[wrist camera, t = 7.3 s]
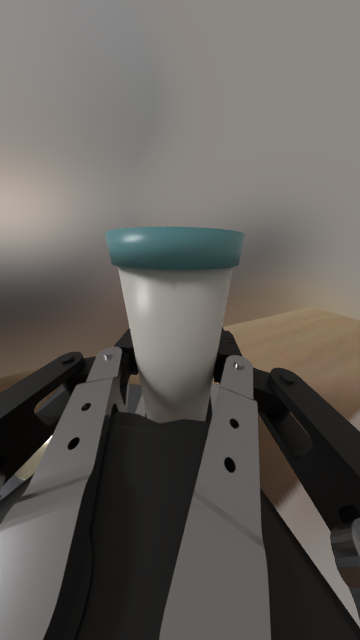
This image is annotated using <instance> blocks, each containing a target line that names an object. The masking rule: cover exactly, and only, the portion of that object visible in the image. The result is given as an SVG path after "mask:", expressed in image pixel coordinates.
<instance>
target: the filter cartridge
mask: <svg viewBox="0 0 360 640" xmlns="http://www.w3.org/2000/svg"><path fill="white" fill-rule="evenodd" d="M105 234H106V239H107V244H108V248H109V253H110V258H111V263H112V264H113V265H115V266H118V270H119V275H120V280H121V285H122V290H123V295H124V301H125V306H126V311H127V316H128V321H129V326H130V332H131V337H132V342H133V347H134V352H135V358H136V363H137V368H138V373H139V378H140V383H141V389H142V394H143V399H144V404H145V409H146V414H147V418H148V419H150V420H153V421H155V422H157V423H165V422H170V421H176V420H181V419H188V420H197V421H205V420H206V414H207V408H208V403H209V397H210V392H211V386H212V381H213V375H214V370H215V364H216V358H217V353H218V347H219V342H220V336H221V331H222V325H223V320H224V313H225V308H226V303H227V297H228V292H229V286H230V281H231V275H232V269H233V267H235V266H238V265H239V261H240V256H241V250H242V245H243V240H244V234H243V233H241V232H237V231H231V230H223V229H212V228H195V227H138V228H124V229H115V230H110V231H107V232H105Z"/></svg>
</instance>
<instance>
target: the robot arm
mask: <svg viewBox="0 0 360 640" xmlns="http://www.w3.org/2000/svg"><path fill="white" fill-rule="evenodd" d="M137 373H138V368H137V363H136V358H135V352H134V347H133V342H132V337H131V332H130V328H129V329H128V330H127V331H126V333H125V334H124V335H123V336H122V337H121V338H120V340H119V341H118V342H117V343H116V344H115V346H114V347H109V348H106V349H104V350H102V351H100V352H99V353H98V354H97V356H96V357H89V358H83V356H82V354H81V353H80V352H70V353H67V354H65V355H62V356H60V357H58V358H57V359H55V360H54V361H52V362H51V363H49V364H47V365H46V366H44V367H42V368H41V369H39V370H37V371H36V372H34V373H33V374H31V375H29V376H28V377H26V378H24V379H23V380H21V381H20V382H18V383H16V384H15V385H13V386H11V387H10V388H8V389H7V390H5V391H3V392H2V393H0V490H1V488H2V486H3V485H4V484H5V483H6V482H7V481H8V480H9V479H10V478H11V477H12V476H13V475H14V474H15V473H16V472H17V471H18V470H19V469H20V468H21V467H22V466H23V465H24V464H25V463H26V462H27V461H28V460H29V459H30V458H31V457H32V456H33V455H34V454H35V452H36V451H37V450H38V449H39V448H40V447H41V446H42V445H43V444H44V443H45V442H46V441H47V440H48V439H49V438H50V437H51V436H52V437H51V439H50V442H49V444H48V446H47V448H46V450H45V452H44V454H43V456H42V458H41V461H40V463H39V465H38V467H37V469H36V471H35V473H34V474H33V475H31V476H30V477H29V478H28V479H26V480H25V481H24V482H23V483H21V484H20V485H19V486H18V487H16V488H15V489H14V490H13V491H11V492H10V493H9V494H8V495H6V496H5V497H4V498H3V499H1V497H2V494H1V493H0V640H360V628H359V626H358V625H357V623H356V622H355V621H354V619H353V618H352V616H351V615H350V613H349V612H348V611H347V609H346V608H345V606H344V605H343V604H342V602H341V601H340V600H339V598H338V597H337V595H336V594H335V592H334V591H333V590H332V588H331V587H330V585H329V584H328V582H327V581H326V580H325V578H324V577H323V575H322V574H321V573H320V571H319V570H318V568H317V567H316V566H315V564H314V563H313V561H312V560H311V559H310V557H309V556H308V554H307V553H306V552H305V550H304V549H303V547H302V546H301V544H300V543H299V541H298V540H297V539H296V537H295V536H294V534H293V533H292V532H291V530H290V529H289V527H288V526H287V525H286V523H285V522H284V520H283V519H282V517H281V516H280V515H279V513H278V512H277V510H276V509H275V508H274V506H273V505H272V503H271V502H270V501H269V499H268V498H267V496H266V495H265V493H264V492H263V491H262V489H261V488H260V472H259V440H258V413H259V415H260V417H261V418H262V420H263V421H264V423H265V425H266V426H267V428H268V430H269V431H270V433H271V435H272V436H273V438H274V439H275V441H276V443H277V444H278V446H279V448H280V449H281V451H282V453H283V454H284V456H285V457H286V459H287V461H288V462H289V464H290V466H291V467H292V469H293V471H294V472H295V474H296V475H297V477H298V479H299V480H300V482H301V484H302V485H303V487H304V489H305V490H306V492H307V493H308V495H309V497H310V498H311V500H312V502H313V503H314V505H315V507H316V508H317V510H318V512H319V513H320V515H321V516H322V518H323V520H324V521H325V523H326V525H327V526H328V528H329V530H330V531H331V537H330V539H331V546H332V550H333V554H334V557H335V562H336V566H337V569H338V571H339V573H340V575H341V577H342V579H343V580H344V582H345V583H346V584H347V586H348V587H349V589H350V592H351V594H352V597H353V599H354V602H355V604H356V608H357V611H358V615H359V619H360V432H359V431H358V430H357V429H356V428H355V427H354V426H353V425H352V424H351V423H350V422H348V421H347V420H346V419H345V418H344V417H343V416H342V415H341V414H340V413H339V412H337V411H336V410H335V409H334V408H333V407H332V406H331V405H330V404H329V403H327V402H326V401H325V400H324V399H323V398H322V397H321V396H320V395H319V394H318V393H316V392H315V391H314V390H313V389H312V388H311V387H310V386H309V385H308V384H306V383H305V382H304V381H303V380H302V379H301V378H300V377H299V376H297V375H296V374H295V373H293V372H291V371H289V370H286V369H283V368H274V369H272V370H271V372H270V373H268V372H265V371H262V370H258V369H256V368H253V366H252V364H251V363H250V361H248V360H247V359H246V358H244V357H242V355H241V352H240V350H239V348H238V346H237V344H236V341H235V339H234V337H233V335H232V334H231V333H230V332H229V331H224V330H223V327H222V331H221V336H220V342H219V347H218V353H217V358H216V364H215V370H214V375H213V376H214V382H219V384H220V387H219V391H218V395H217V399H216V403H215V407H214V411H213V415H212V419H211V423H210V427H209V430H208V429H207V422H206V421H197V420H188V419H181V420H176V421H170V422H165V423H157V422H155V421H153V420H150V419H148V418H146V417H144V416H142V415H140V414H135V413H127V406H128V394H129V377H130V375H131V374H132V375H137ZM61 384H62V385H63V387H64V388H65V390H64V391H63V392H62V393H61V394H60V395H58V396H57V397H56V398H55V399H54V400H52V401H51V402H50V403H49V404H48V405H46V406H45V407H44V408H43V409H42V410H40V411H39V412H38V413H36V414H35V413H34V408H35V406H36V405H37V404H38V402H40V401H41V400H42V399H43V398H44V397H46V396H47V395H48V394H50V393H51V392H52V391H53V390H55V389H56V388H57V387H59V386H60V385H61ZM290 412H291V413H292V414H293V415H294V416H295V418H296V419H297V420H298V421H299V423H300V424H301V425H302V426H303V428H304V429H305V430H306V431H307V433H308V434H309V436H310V437H311V439H310V437H309V436H308V435H307V434H306V432H305V431H304V430H303V429H302V427H301V426H300V425H299V424H298V422H297V421H296V420H295V419H294V417H293V416H292V415H291V414H290Z"/></svg>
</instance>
